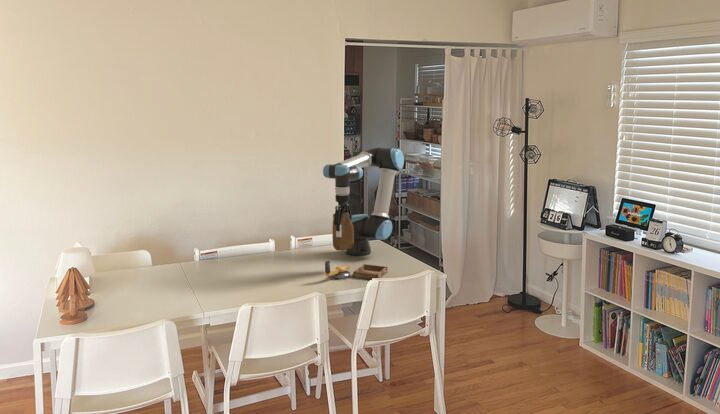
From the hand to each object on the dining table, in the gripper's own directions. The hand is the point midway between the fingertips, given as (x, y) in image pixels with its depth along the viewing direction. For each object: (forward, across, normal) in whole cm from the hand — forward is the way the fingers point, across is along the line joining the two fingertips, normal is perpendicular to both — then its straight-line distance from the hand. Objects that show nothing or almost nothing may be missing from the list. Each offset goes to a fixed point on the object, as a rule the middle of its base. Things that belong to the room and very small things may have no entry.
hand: (343, 234), depth 334 cm
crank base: (+20, +11, +3) cm, 23 cm away
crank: (+17, +13, +2) cm, 22 cm away
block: (+8, 0, 0) cm, 8 cm away
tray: (+20, +2, +16) cm, 26 cm away
